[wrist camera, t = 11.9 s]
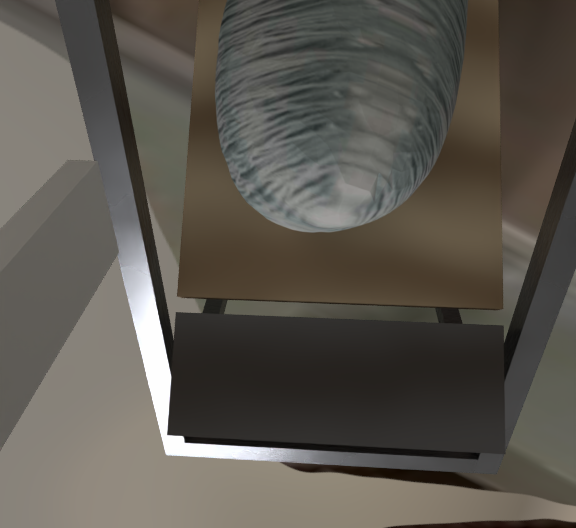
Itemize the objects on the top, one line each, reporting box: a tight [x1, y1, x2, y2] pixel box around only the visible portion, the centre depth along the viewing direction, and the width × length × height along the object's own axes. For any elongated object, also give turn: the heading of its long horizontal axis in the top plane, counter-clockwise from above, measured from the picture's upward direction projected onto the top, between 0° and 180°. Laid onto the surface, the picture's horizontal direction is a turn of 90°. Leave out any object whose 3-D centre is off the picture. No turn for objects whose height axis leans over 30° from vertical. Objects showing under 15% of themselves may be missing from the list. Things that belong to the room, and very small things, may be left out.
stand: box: [55, 0, 576, 474], centre depth 28 cm, size 27×18×18 cm, turn 1°
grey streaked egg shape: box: [215, 0, 468, 233], centre depth 20 cm, size 14×10×10 cm
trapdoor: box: [167, 0, 506, 454], centre depth 26 cm, size 21×14×6 cm
